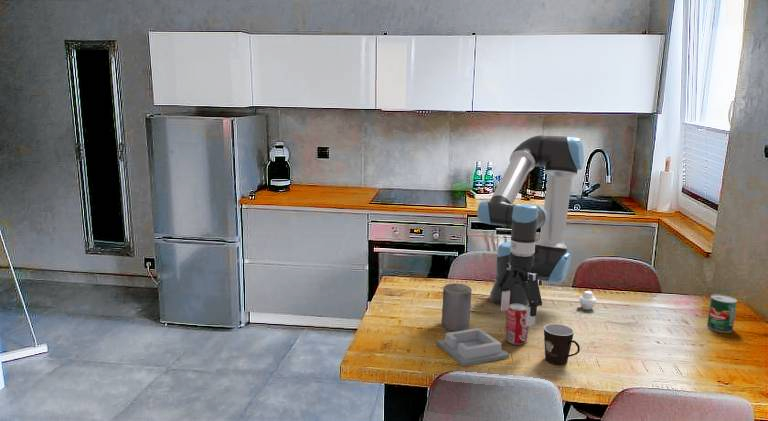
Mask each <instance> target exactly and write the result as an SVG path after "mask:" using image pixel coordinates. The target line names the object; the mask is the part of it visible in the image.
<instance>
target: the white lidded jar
mask: <svg viewBox="0 0 768 421" xmlns="http://www.w3.org/2000/svg"><path fill="white" fill-rule="evenodd" d="M578 300H579V303H580V305H581V308H582V309H583V310H585V311H589V310H592V309H593V307H594V306H595V305H596V303H597V298H596V297H595V296H594V292H592V291H590V290H584V292H583V293H582V294H581V295H580V296H579V298H578Z"/></svg>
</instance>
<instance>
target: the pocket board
mask: <svg viewBox="0 0 768 421" xmlns="http://www.w3.org/2000/svg"><path fill="white" fill-rule="evenodd" d="M444 334H445V336H444V337H445V338H444V339H441V340H440V339H439V340H437V346H438V347H440V348H441V349H443V351H444V352H446V353H447V354H448V355H449V356H450V357H452V359H454V360H455V361H456V362H457V363H459V364H460V365H461V366H462V367H468V366H474V365H479V364H484V363H489V362H494V361H498V360H504V359H509V358H510V354H509V353H508V352H507V351H505V350H504V349H502V342H500V341H499V340H498V339H496V338H494V337H493V335H491V334H489V333H487V332H486V331H485V330H483V329H482V328H480V327H476V328H471V329H469V328H468V329H465V330H463V331H451V332H447V333H444Z"/></svg>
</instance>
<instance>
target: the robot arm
mask: <svg viewBox="0 0 768 421" xmlns="http://www.w3.org/2000/svg"><path fill="white" fill-rule="evenodd" d="M583 146H584V145H583V142H582V140H581V139H580V138H579V137H573V136H565V135H564V136H558V135H543V134H542V135H541V134H540V135H534V136H531V137H529V138H527V139H525V140H524V141H522V142H521V143H519V145H518V146H516V147H515V149H514V150H513V151H512V152H511V154H510V157H509V164H508V167H507V168H506V170H505V171H504V174H503V175H502V177H501V179H500V181H499V183H498V184H497V187H496V189H495V190H494V192H493V194H492V196H491V198H490V200H489V201H488V200H482V201H481V202H479V204H478V206H477V212H476V215H477V219H478V222H480V223H483V224H487V225H494V226H504V227H510V228H511V232H510V241H506V242H505V241H504V242H502V243H500V244H499V245H498V246H497V250H496V251H497V253H496V265H495V266H496V267H495V280H494V283H493V286H492V288H491V291H490V293H489V294H490V295H489V301H490V302H492V303H493V304H496V305H497V306H500V311H501V312H505V311H506V312H507V310H508V308H509V305H510V304H514V303H518V304H523V305H526V306H527V319H526V326H528V327H531V326H532V327H533V326H535V324H536V316H537V309H538V307H541V306H543V300H542V294H541V290H540V285H539V282H538V281H542V282H547V283H554V284H561V283H562V282H564V281H565V279H566V277H567V275H568V272H569V269H570V265H571V258H572V255H571V253H570V252H568V246H566V244H565V242H564V241H565V235H566V226H567V219H568V213H569V205H570V204H569V203H570V196H571V191H572V190H571V189H572V188H571V187H572V182H573V178H575V177H576V176H577V175H578V171H581V170H582V169H583V167H584V162H585V161H584V159H585V155H584V154H585V153H584V147H583ZM535 167H544V173H545V174H546V176H547V182H546V183H547V184H546V188H545V196H544V204H543V206H542V205H539V204H531V203H515V204H514V202H515V200H516V198H517V197H518V194H519V192H520V190H521V188H522V186H523V184H524V182H525V181H526V178H527V176H528V174H529V172H531V171H532V170H534V168H535ZM539 229H540V234H539V240H538V241H536V239H537V238H536V237H537V236H536V235H537V230H539Z"/></svg>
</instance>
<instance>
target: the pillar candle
mask: <svg viewBox="0 0 768 421" xmlns="http://www.w3.org/2000/svg"><path fill="white" fill-rule="evenodd" d="M472 290H473V289H472V288H471V287H470V285H468V284H463V283H449V284H445V285H444V286H443V290H442V307H441V308H442V309H441V310H442V311H441V326H442V328H444V329H446V330H449V331H451V332H457V331H463V330H469V328H470V326H471V325H470V324H471V310H472V309H471V308H472V302H471V301H472Z"/></svg>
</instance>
